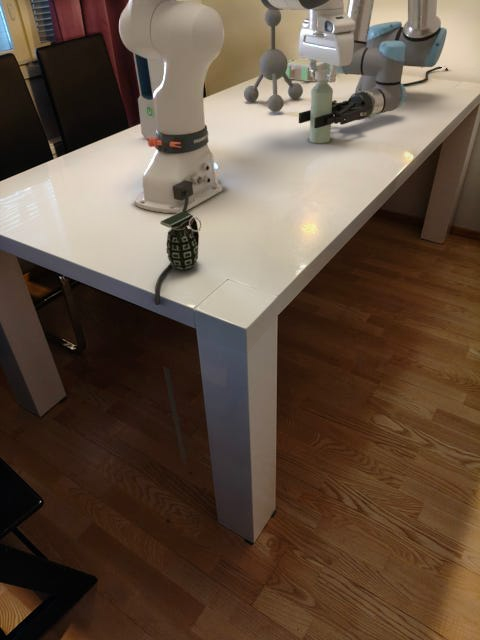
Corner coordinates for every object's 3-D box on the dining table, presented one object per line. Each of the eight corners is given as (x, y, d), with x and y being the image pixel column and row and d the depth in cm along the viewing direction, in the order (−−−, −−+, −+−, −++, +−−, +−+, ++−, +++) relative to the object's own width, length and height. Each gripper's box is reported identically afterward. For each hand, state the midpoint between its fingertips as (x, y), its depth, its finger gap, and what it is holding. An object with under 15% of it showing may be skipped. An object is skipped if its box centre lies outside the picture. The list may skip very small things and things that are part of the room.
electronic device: (141, 137, 154) (123, 28, 136) (159, 131, 158) (144, 24, 140) (166, 145, 147) (151, 30, 129) (185, 138, 151) (172, 26, 133)
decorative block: (305, 52, 220) (345, 55, 211) (304, 68, 224) (344, 71, 215) (274, 63, 204) (317, 66, 195) (274, 80, 208) (316, 84, 199)
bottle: (333, 138, 145) (337, 72, 134) (323, 144, 141) (327, 77, 130) (315, 135, 148) (318, 70, 137) (305, 141, 144) (307, 75, 133)
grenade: (182, 278, 88) (175, 228, 82) (162, 268, 91) (153, 219, 85) (208, 263, 92) (203, 214, 85) (187, 253, 95) (181, 205, 89)
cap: (333, 78, 133) (333, 71, 132) (320, 81, 132) (320, 73, 131) (324, 76, 136) (325, 68, 135) (312, 78, 135) (312, 70, 134)
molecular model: (322, 103, 175) (328, 5, 157) (274, 116, 166) (273, 12, 147) (282, 92, 191) (282, 1, 172) (235, 103, 181) (230, 8, 163)
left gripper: (293, 19, 132) (292, 74, 141) (339, 26, 118) (335, 87, 126) (312, 16, 134) (310, 71, 143) (360, 23, 120) (354, 84, 128)
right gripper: (387, 124, 144) (329, 141, 134) (341, 111, 157) (285, 127, 147) (390, 97, 140) (331, 113, 130) (343, 86, 152) (286, 100, 142)
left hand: (322, 79), depth 134 cm, fingers open, 6 cm apart
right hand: (307, 120), depth 138 cm, fingers closed on bottle, 6 cm apart
